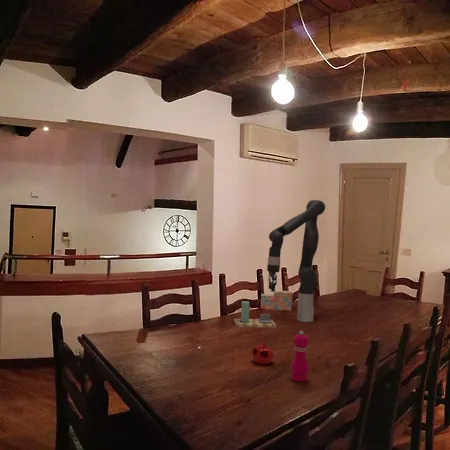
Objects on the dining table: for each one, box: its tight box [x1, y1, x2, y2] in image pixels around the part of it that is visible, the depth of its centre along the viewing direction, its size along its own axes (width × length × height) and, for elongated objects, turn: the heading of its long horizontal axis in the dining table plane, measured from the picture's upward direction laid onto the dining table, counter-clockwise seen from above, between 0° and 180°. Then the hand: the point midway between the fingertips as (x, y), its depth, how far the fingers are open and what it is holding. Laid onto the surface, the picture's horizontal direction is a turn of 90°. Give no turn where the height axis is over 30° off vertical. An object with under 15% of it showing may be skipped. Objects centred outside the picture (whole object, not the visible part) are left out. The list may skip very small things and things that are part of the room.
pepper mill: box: [290, 330, 309, 382], centre depth 183 cm, size 7×7×20 cm
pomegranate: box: [251, 341, 275, 365], centre depth 201 cm, size 10×10×9 cm
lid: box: [257, 313, 272, 323], centre depth 264 cm, size 7×7×4 cm
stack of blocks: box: [260, 289, 294, 312], centre depth 308 cm, size 21×6×12 cm, turn 84°
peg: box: [240, 300, 250, 323], centre depth 262 cm, size 4×4×13 cm
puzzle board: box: [233, 318, 277, 329], centre depth 263 cm, size 23×12×2 cm, turn 95°
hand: (271, 290), depth 273 cm, fingers open, 8 cm apart
